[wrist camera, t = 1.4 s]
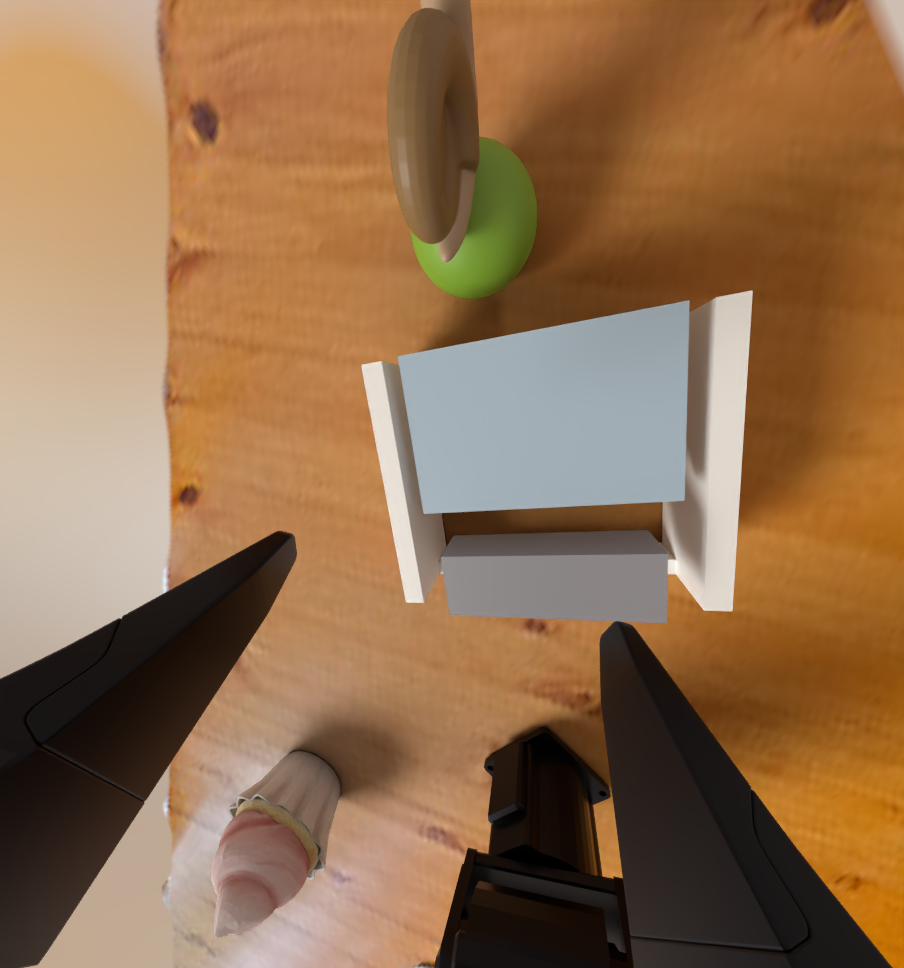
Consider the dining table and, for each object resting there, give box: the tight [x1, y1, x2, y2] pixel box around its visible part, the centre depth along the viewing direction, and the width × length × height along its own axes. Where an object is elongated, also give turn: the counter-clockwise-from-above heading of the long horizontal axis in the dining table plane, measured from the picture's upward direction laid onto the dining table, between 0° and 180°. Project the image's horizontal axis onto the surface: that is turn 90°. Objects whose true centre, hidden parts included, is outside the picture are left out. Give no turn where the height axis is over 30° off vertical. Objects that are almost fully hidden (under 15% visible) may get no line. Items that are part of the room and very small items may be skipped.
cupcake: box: [211, 751, 340, 938], centre depth 27 cm, size 9×9×10 cm
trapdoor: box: [398, 300, 690, 623], centre depth 14 cm, size 11×12×2 cm
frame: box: [361, 290, 753, 611], centre depth 16 cm, size 14×12×5 cm
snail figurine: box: [387, 0, 538, 299], centre depth 11 cm, size 5×6×12 cm
